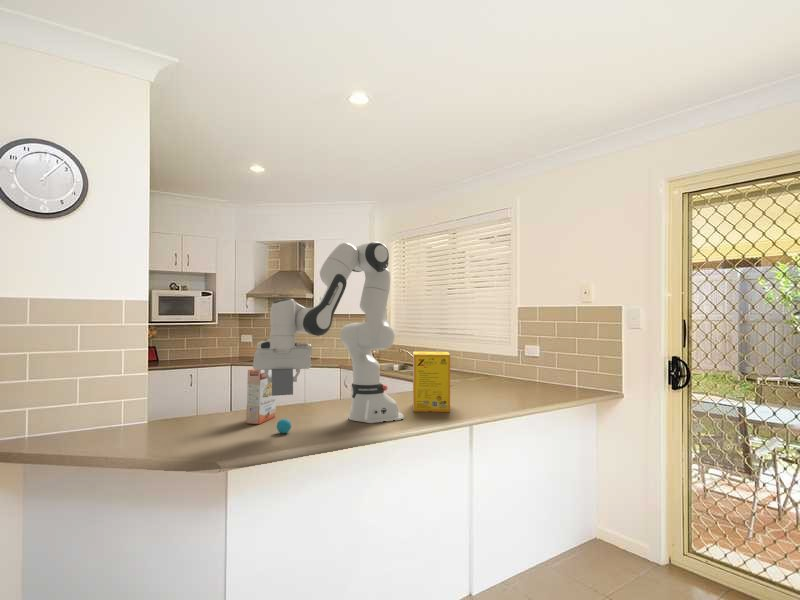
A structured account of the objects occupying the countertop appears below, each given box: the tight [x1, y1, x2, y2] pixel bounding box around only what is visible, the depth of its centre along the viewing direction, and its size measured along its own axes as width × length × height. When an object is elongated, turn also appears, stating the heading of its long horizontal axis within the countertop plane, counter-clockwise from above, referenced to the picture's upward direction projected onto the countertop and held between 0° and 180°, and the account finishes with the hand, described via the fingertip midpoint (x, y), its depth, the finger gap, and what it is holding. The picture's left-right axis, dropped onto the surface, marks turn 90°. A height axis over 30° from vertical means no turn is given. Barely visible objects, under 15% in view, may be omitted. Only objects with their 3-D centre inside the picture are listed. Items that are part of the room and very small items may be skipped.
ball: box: [276, 418, 292, 434], centre depth 167 cm, size 5×5×5 cm
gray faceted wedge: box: [272, 369, 294, 397], centre depth 168 cm, size 7×7×9 cm
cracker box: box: [245, 368, 277, 425], centre depth 187 cm, size 14×6×21 cm, turn 168°
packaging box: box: [412, 351, 451, 413], centre depth 214 cm, size 16×16×25 cm
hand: (282, 382), depth 168 cm, fingers closed on gray faceted wedge, 7 cm apart
